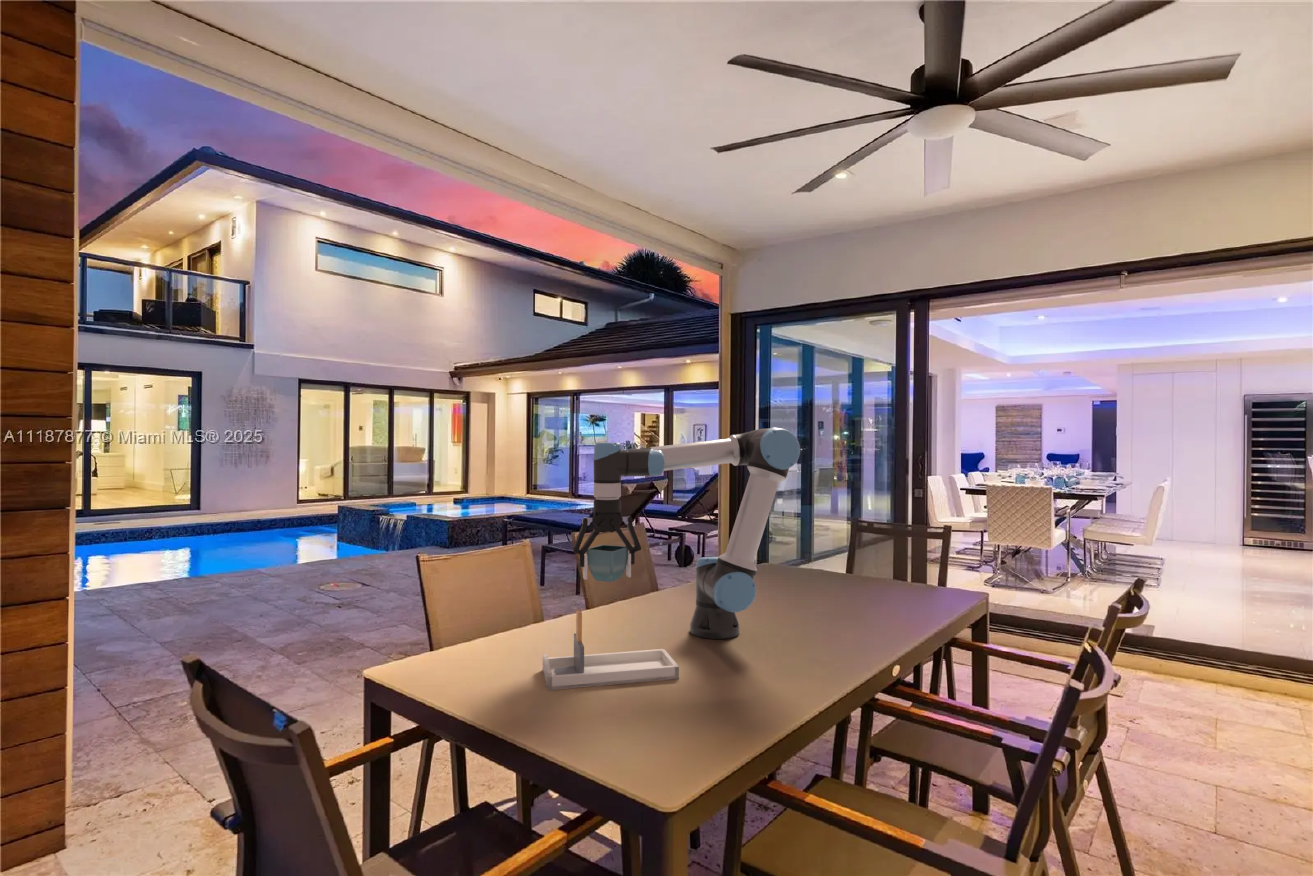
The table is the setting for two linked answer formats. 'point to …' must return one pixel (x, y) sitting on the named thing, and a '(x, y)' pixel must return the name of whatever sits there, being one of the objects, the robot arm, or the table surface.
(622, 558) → the flower pot
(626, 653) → the white tray
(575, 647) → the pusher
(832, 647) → the table surface
